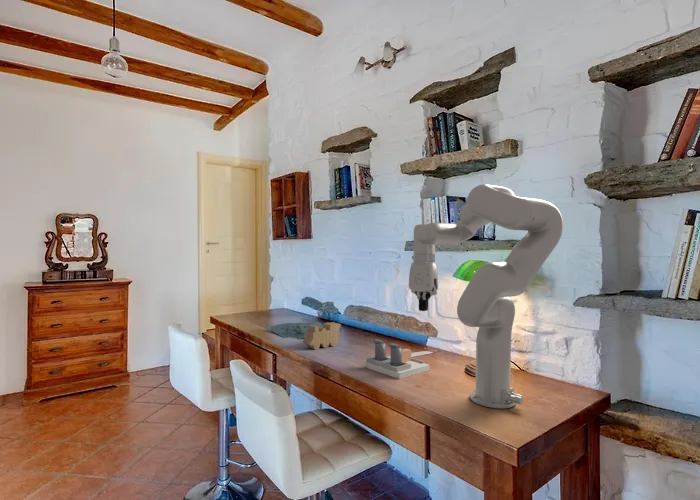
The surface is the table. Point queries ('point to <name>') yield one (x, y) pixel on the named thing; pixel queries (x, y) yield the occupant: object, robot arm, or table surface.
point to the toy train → (322, 335)
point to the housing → (383, 366)
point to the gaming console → (423, 353)
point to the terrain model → (293, 329)
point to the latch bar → (406, 355)
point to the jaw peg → (396, 355)
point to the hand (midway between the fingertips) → (423, 310)
